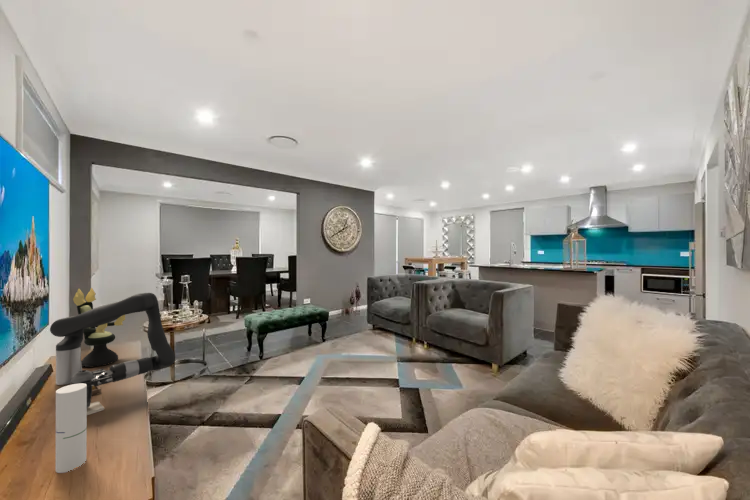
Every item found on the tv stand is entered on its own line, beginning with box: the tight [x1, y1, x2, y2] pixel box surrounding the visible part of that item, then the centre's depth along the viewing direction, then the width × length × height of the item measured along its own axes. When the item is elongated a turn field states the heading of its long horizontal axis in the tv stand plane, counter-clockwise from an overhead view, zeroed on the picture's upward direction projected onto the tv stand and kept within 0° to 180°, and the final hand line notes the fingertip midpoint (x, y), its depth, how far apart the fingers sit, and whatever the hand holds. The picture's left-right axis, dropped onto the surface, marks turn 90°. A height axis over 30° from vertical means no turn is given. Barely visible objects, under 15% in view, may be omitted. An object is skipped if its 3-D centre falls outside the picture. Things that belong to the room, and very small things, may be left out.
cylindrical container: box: [55, 383, 88, 474], centre depth 100 cm, size 7×7×25 cm
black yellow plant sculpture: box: [72, 287, 126, 368], centre depth 184 cm, size 19×22×45 cm
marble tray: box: [91, 385, 102, 397], centre depth 147 cm, size 9×9×4 cm
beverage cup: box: [70, 359, 94, 408], centre depth 131 cm, size 7×7×20 cm
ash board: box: [87, 400, 105, 416], centre depth 131 cm, size 9×12×1 cm
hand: (75, 383), depth 129 cm, fingers closed on beverage cup, 7 cm apart
